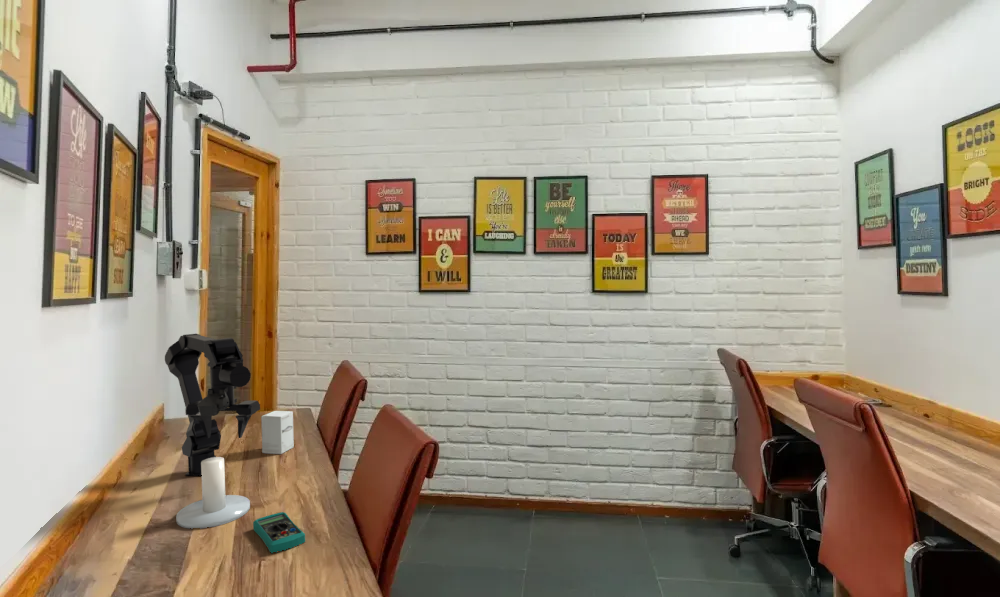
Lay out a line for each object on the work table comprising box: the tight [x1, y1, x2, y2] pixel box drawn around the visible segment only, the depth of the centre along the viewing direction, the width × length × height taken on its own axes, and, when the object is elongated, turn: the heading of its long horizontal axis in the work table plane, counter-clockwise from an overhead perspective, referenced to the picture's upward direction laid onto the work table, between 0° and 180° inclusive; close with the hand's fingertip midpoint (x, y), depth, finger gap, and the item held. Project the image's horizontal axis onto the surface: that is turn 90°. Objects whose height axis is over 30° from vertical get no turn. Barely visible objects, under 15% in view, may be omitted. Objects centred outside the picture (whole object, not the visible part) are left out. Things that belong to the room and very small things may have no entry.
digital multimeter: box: [252, 511, 306, 554], centre depth 119 cm, size 7×15×3 cm, turn 39°
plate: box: [175, 494, 251, 530], centre depth 131 cm, size 16×16×1 cm
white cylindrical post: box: [201, 456, 226, 513], centre depth 130 cm, size 5×5×12 cm
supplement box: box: [260, 410, 295, 455], centre depth 177 cm, size 7×7×13 cm
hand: (224, 437), depth 149 cm, fingers open, 9 cm apart
